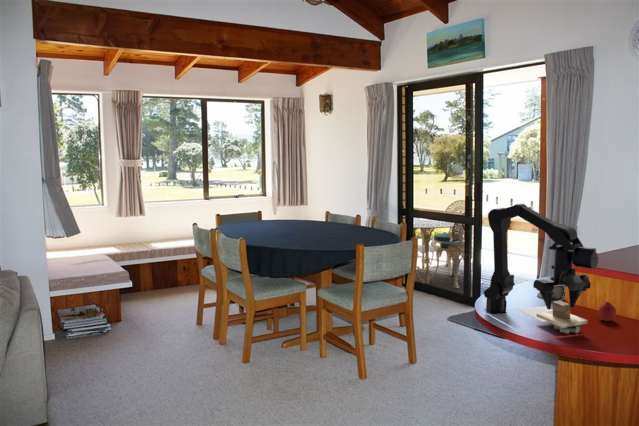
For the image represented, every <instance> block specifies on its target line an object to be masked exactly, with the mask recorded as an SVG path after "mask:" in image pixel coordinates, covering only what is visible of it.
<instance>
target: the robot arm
mask: <svg viewBox="0 0 639 426" xmlns="http://www.w3.org/2000/svg"><path fill="white" fill-rule="evenodd" d="M516 217H519V218H521V219H522V220H525V221H526V222H528V223H529V224H531V225H533V226H534V227H536V228H538V229H539V230H541V231H543V232H544V233H545V234H546V235H547V236H548V237H549V239H550V240H552V241H553V242H554V243H553V244H552V245H551V246H548V249H549V250H550V251H551V250H552V251H554V260H553V261H554V262H553V265H551V269H553V276H551V277H550V280H547V279H545V278H541V279H535V280H534V281H533V287H532V288H534V289H536V291H539V292H540V293H541V295H542V297H543V298H542V300H543V302H544V304H545V306H546V307H547V309H549V310H550V308H551V309H552V299H553V298H552V295H553V293H554V292H553V291H552V290H553V289H554V287H565V288H567V289H568V294H569V296H568V297H569V304H570V309H573V308H574V307H575V305H576V304H577V302H578V299H579V298H580V295H581V294H582V293H584V292H586V291H587V290H590V289H591V282H590V280H589V276H588V275H587V274H581V275H579V274H576V268H574V267H573V265H574V266H575V267H577V268H583V269H584V268H585V269H589V270H595V269H597V266H598V265H599V264H598V263H599V256H598V253H597V249H596V248H595V247H594V248H593V247H584V245H583V243H582V242H581V240H580V238H579V237H578V233H577V230H576V228H574V227H572V226H570V225H566V224H563V223H558V222H556V221H554V220H551V219H550V218H548V217H546V216H544V215H543V214H541V213H539V212H538V211H535V210H534V209H532V208H530V207H528V206H527V205H526V204H525V203H518V204H517V203H516V204H514V205H512V206H509V207H499V208H493V209H490V211H489V212H488V213H487V220H488V224H489V228H490V229H491V232H492V234H493V237H492V239H493V268H494V269H493V273H492V275H491V277H490V282H489V283H490V284H489V287H488V288H486V289H484V291H483V295H484V298H486V302H485V303H486V306H485V308H484V309H483V310H484V311H486V312H488V313H489V314H492V315H500V314H502V315H503V314H508V312H507V305H508V304H507V302H508V301H507V300H506V299H507V297H508V296H509V294H510V292H511V291H513V289H514V286H516V285H515V275H514V274H511V273H510V272H509V264H508V263H509V262H508V261H509V260H508V230H509V228H510V226H511V222H512V221H511V220H512V219H513V218H516ZM551 281H553V282H551Z"/></svg>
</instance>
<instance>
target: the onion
mask: <svg viewBox="0 0 639 426" xmlns="http://www.w3.org/2000/svg"><path fill="white" fill-rule="evenodd" d="M597 314H598V316H599V317H600V319H601V320H603V321H604V322H611V321H612V320H614V319H615V318H616V316H617V310H616V308H615V306H614V305H613V304H612V303H611V302H610V301H609V300H607V299H606V300H605V302H604V303H602V304H601V305H599V307H598V309H597Z"/></svg>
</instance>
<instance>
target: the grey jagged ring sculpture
mask: <svg viewBox="0 0 639 426" xmlns="http://www.w3.org/2000/svg"><path fill="white" fill-rule="evenodd" d="M548 325H549V326H551V327H553V328H554V329H555V330H559V332H560V333H565V334H569V333H575V334H574V335H576V336H578V335H579V332H580V331H581V326H582V325H583V324H581V325H576V326H571V327H566V328H562V327H559V326H557V325H555V324H553V323H550V322H548Z"/></svg>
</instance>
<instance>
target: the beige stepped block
mask: <svg viewBox="0 0 639 426" xmlns="http://www.w3.org/2000/svg"><path fill="white" fill-rule="evenodd" d="M552 309H553V311H549V312H544V313H538V314H537V317H539V318H541V319H543V320H546V321H547V322H548V323H549V322H550V323H553V324H555V325H557V326H559V327H562V328H566V327H567V328H570V327H571V326H576V325H581V324H582V325H586V324H588V319H585V318H583V317H580V316H577V315H574V314H572V313H571V307H570V303H567V302H565V301H563V300H561V301H560V300H559V299H558V300H554V301H552ZM582 325H581V326H582ZM571 328H572V327H571Z"/></svg>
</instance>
